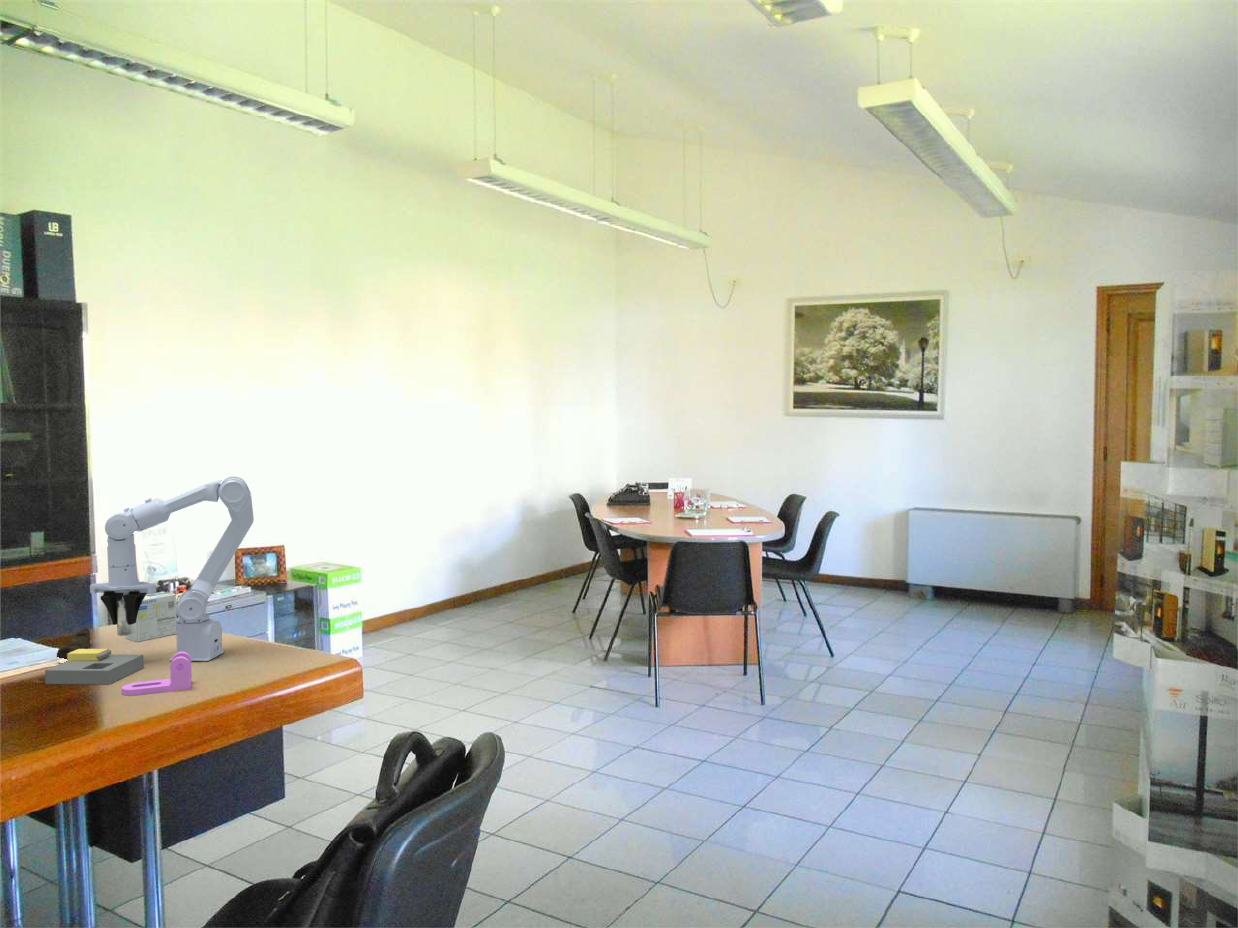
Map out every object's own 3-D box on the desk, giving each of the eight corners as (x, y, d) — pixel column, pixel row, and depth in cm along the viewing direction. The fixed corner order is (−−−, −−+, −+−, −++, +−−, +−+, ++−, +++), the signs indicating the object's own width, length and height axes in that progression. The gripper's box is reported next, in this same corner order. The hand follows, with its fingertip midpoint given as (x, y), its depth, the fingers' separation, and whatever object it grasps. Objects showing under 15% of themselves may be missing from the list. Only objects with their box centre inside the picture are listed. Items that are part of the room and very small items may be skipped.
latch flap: (111, 655, 206) (111, 648, 205) (100, 660, 202) (100, 653, 201) (79, 655, 206) (78, 648, 206) (67, 660, 202) (67, 653, 202)
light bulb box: (165, 630, 243) (163, 590, 242) (178, 634, 239) (177, 593, 238) (124, 638, 234) (122, 597, 234) (137, 642, 230) (135, 600, 230)
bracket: (191, 682, 195) (190, 650, 195) (190, 689, 190) (189, 656, 190) (123, 690, 190) (122, 657, 190) (120, 697, 185) (119, 664, 185)
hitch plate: (143, 667, 207) (143, 654, 207) (108, 684, 194) (108, 670, 194) (84, 667, 208) (83, 654, 207) (45, 683, 195) (44, 670, 194)
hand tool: (75, 663, 212) (75, 644, 211) (56, 664, 211) (55, 645, 210) (100, 644, 230) (99, 626, 230) (82, 645, 229) (82, 627, 229)
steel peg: (135, 632, 211) (133, 598, 211) (127, 635, 208) (126, 601, 208) (122, 632, 211) (121, 598, 211) (114, 635, 208) (113, 601, 208)
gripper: (80, 568, 205) (83, 627, 206) (142, 568, 205) (145, 627, 205) (99, 563, 212) (102, 620, 213) (160, 563, 212) (162, 620, 212)
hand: (124, 623), depth 210 cm, fingers closed on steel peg, 3 cm apart
